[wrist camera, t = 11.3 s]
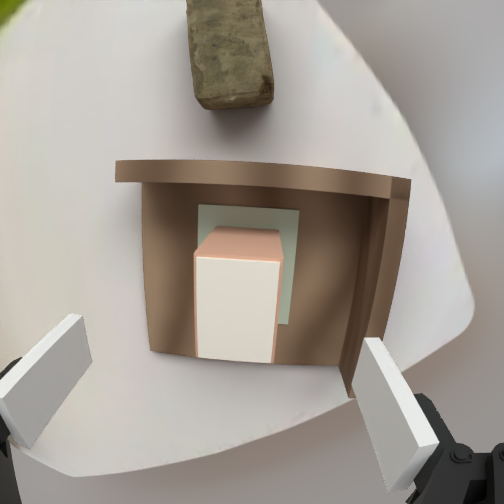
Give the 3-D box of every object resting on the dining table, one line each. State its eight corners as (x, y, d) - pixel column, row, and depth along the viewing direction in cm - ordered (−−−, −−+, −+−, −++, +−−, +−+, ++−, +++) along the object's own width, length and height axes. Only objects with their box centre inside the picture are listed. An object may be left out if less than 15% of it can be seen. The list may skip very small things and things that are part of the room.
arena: (153, 345, 30) (132, 380, 24) (146, 160, 25) (115, 160, 19) (350, 359, 29) (365, 397, 24) (381, 175, 25) (411, 179, 19)
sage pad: (198, 316, 28) (197, 317, 28) (198, 204, 25) (198, 204, 25) (287, 323, 27) (287, 324, 27) (299, 210, 25) (299, 210, 25)
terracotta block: (215, 226, 25) (192, 254, 17) (278, 229, 25) (283, 259, 17) (214, 305, 27) (195, 359, 19) (272, 309, 27) (273, 365, 19)
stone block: (207, 117, 24) (193, 106, 19) (193, 6, 21) (179, -20, 17) (277, 107, 24) (279, 93, 19) (257, -5, 21) (254, -33, 16)
